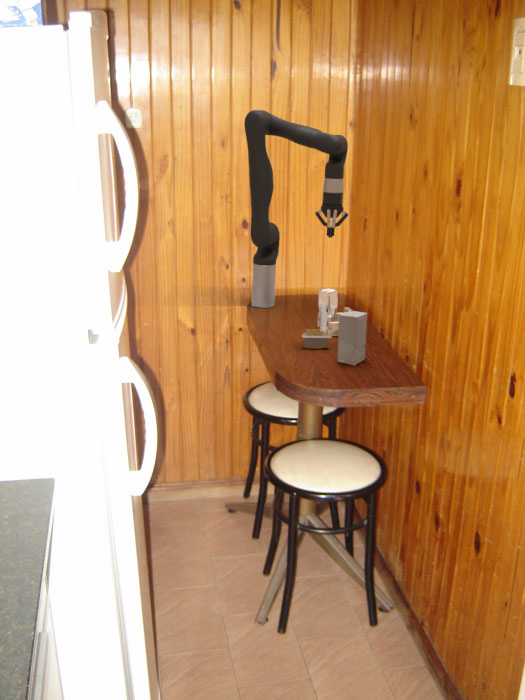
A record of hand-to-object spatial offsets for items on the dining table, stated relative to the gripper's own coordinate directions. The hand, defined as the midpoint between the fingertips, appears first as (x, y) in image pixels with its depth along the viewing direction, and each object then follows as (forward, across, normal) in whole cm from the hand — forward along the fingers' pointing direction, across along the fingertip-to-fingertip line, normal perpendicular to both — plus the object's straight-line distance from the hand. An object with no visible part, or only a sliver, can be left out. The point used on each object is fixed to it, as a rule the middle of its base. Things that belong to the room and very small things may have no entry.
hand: (330, 237), depth 277 cm
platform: (+31, -4, -43) cm, 53 cm away
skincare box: (+31, +7, -54) cm, 63 cm away
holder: (+30, +3, -22) cm, 38 cm away
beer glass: (+30, 0, -24) cm, 38 cm away
